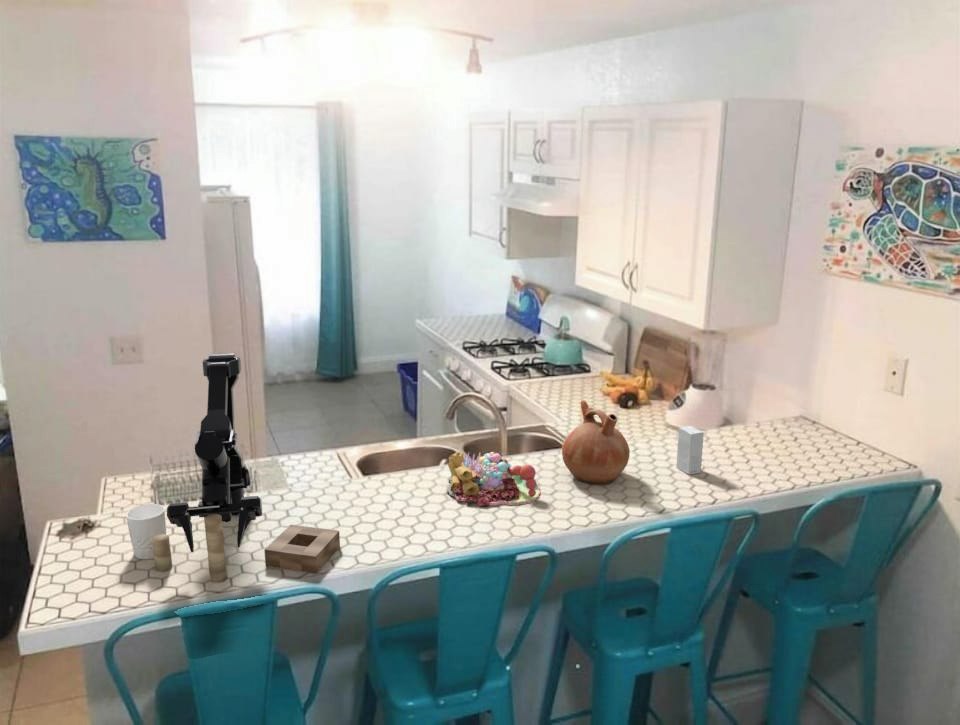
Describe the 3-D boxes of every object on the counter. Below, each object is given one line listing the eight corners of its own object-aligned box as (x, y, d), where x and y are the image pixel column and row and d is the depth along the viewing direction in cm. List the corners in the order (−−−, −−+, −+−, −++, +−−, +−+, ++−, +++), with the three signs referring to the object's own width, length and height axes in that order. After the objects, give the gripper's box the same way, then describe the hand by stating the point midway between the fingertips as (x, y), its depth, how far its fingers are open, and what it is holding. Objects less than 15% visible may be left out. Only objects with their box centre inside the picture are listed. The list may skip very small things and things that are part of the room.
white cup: (174, 543, 183) (169, 503, 180) (162, 561, 175) (157, 519, 173) (139, 544, 183) (134, 503, 180) (125, 561, 175) (120, 520, 172)
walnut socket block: (291, 540, 184) (290, 524, 183) (340, 546, 181) (339, 530, 180) (265, 566, 173) (264, 549, 172) (316, 573, 170) (315, 556, 169)
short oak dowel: (161, 562, 175) (158, 533, 173) (175, 564, 174) (172, 535, 172) (152, 570, 171) (148, 540, 170) (165, 572, 171) (162, 542, 169)
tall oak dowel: (216, 573, 170) (210, 513, 167) (230, 575, 170) (224, 515, 166) (207, 581, 167) (200, 520, 163) (221, 583, 166) (215, 522, 163)
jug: (548, 469, 224) (550, 401, 218) (603, 459, 231) (606, 393, 226) (583, 495, 208) (586, 422, 202) (641, 483, 215) (645, 412, 210)
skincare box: (701, 473, 222) (704, 432, 218) (688, 475, 220) (691, 434, 217) (688, 465, 227) (691, 425, 224) (675, 467, 226) (678, 427, 222)
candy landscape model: (456, 513, 198) (456, 479, 196) (436, 476, 220) (436, 444, 218) (551, 502, 205) (552, 468, 202) (523, 467, 227) (523, 436, 224)
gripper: (263, 488, 182) (265, 556, 174) (176, 496, 178) (174, 565, 170) (259, 469, 172) (260, 540, 165) (167, 477, 168) (164, 549, 161)
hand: (215, 549), depth 165 cm, fingers open, 9 cm apart
